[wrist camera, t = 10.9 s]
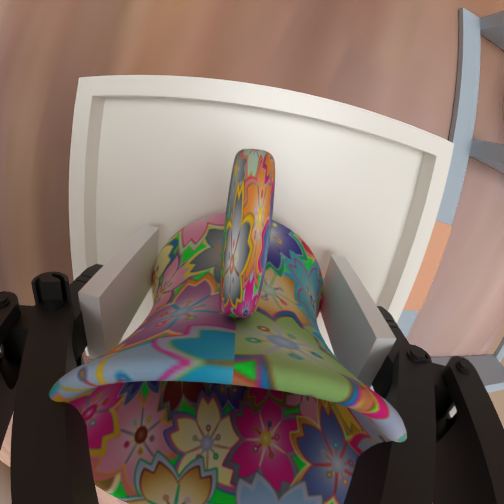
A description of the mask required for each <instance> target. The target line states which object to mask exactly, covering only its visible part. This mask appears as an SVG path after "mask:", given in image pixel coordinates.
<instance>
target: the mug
mask: <svg viewBox="0 0 504 504" xmlns="http://www.w3.org/2000/svg"><path fill="white" fill-rule="evenodd" d="M274 191H275V161H274V158H273V156H272V155H271V154H270V153H269V152H267V151H263V150H259V149H242V150H240V151H238V153H237V154H236V156H235V159H234V163H233V168H232V174H231V180H230V186H229V193H228V200H227V208H226V213H220V214H215V215H211V216H207V217H204V218H201V219H198V220H196V221H194V222H192V223H190V224H188V225H187V226H185V227H183V228H182V229H181V230H179V231H178V232H177V233H176V234H175V235H173V236H172V237H171V238H170V239H169V241H168V242H167V243H166V244H165V245H164V247H163V248H162V250H161V252H160V253H159V255H158V257H157V260H156V262H155V265H154V269H153V274H152V287H151V292H152V299H153V307H152V309H151V311H150V313H149V314H148V316H147V317H146V319H145V320H144V321H143V323H142V324H141V325H140V326H139V327H138V328H137V329H136V330H135V331H134V332H133V333H132V334H131V335H130V336H129V337H128V338H126V339H125V340H124V341H123V342H121V343H120V344H119V345H117V346H116V347H114V348H113V349H111V350H110V351H108V352H106V353H104V354H103V355H101V356H99V357H97V358H95V359H93V360H91V361H89V362H87V363H85V364H83V365H81V366H79V367H76V368H74V369H73V370H71V371H70V372H68V373H67V374H65V375H64V376H62V377H61V378H60V379H59V380H58V381H57V382H56V383H55V384H54V385H53V387H52V388H51V390H50V392H49V396H50V398H51V399H52V400H54V401H56V402H66V403H69V404H71V405H73V406H74V407H75V408H76V409H77V410H78V411H79V412H80V414H81V415H82V417H83V419H84V421H85V423H86V425H87V434H88V443H89V451H90V459H91V465H92V472H93V478H94V483H95V485H96V486H98V487H99V488H101V489H102V490H104V491H106V492H107V493H109V494H111V495H113V496H114V497H116V498H118V499H120V500H122V501H124V502H127V503H129V504H343V503H344V500H345V497H346V494H347V491H348V488H349V485H350V481H351V478H352V475H353V471H354V468H355V464H356V460H357V458H358V457H359V456H360V455H361V454H362V453H363V452H364V451H366V450H367V449H368V448H370V447H371V446H373V445H375V444H378V443H381V442H389V441H395V442H403V441H405V440H406V439H407V432H406V429H405V426H404V423H403V420H402V418H401V417H400V415H399V414H398V412H397V411H396V410H395V409H394V408H393V407H392V406H391V405H390V404H389V403H388V402H387V401H386V400H385V399H384V398H383V397H381V396H380V395H378V394H377V393H376V392H374V391H373V390H371V389H370V388H369V387H367V386H366V385H365V384H363V383H362V382H361V381H360V380H358V379H357V378H356V377H355V376H354V375H353V374H351V373H350V372H349V371H348V370H347V369H346V368H345V367H344V366H343V365H342V364H341V363H340V361H339V360H338V359H337V358H336V357H335V356H334V355H333V353H332V352H331V350H330V349H329V348H328V346H327V344H326V343H325V341H324V339H323V337H322V335H321V333H320V331H319V328H318V324H317V318H318V315H319V313H320V309H321V306H322V301H323V278H322V274H321V270H320V267H319V264H318V262H317V260H316V258H315V256H314V254H313V253H312V251H311V250H310V248H309V247H308V246H307V244H306V243H305V242H304V241H303V240H302V239H301V238H300V237H299V236H298V235H297V234H295V233H294V232H293V231H292V230H290V229H289V228H287V227H285V226H284V225H282V224H280V223H278V222H276V221H274V220H272V215H273V204H274Z"/></svg>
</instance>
